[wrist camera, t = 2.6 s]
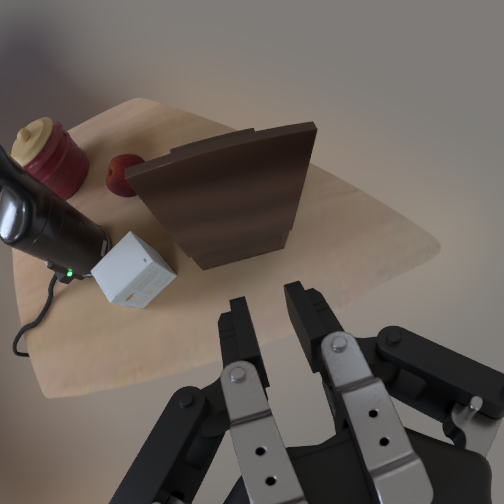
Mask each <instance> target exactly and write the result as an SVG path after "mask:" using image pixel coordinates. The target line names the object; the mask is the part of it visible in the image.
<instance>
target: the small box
mask: <svg viewBox="0 0 504 504" xmlns="http://www.w3.org/2000/svg"><path fill="white" fill-rule="evenodd" d="M91 273H92V274H93V276H94V278H95V279H96V281H97V283H98V284H99V286H100V287H101V289H102V291H103V292H104V294H105V295H106V297H107V298H108V300H109V301H110V303H113V304H118V305H123V306H129V307H134V308H140V309H143V308H144V307H145V306H146V305H147V304H148V303H149V302H150V301H152V300H153V299H154V298H155V297H156V296H157V295H158V294H159V293H160V292H161V291H162V290H163V289H164V288H165V287H166V286H167V285H168V284H169V283H170V282H171V281H172V280H174V279H175V278H176V277H177V274H176V273H175V272H174V271H173V270H172V269H171V267H170V266H169V265H168V264H167V263H166V261H165V260H164V259H163V258H162V257H161V255H160V254H159V253H158V252H157V251H156V250H155V249H153V248H152V247H151V246H150V245H148V244H147V243H146V242H144V241H143V240H142V239H140V238H139V237H138V236H137V235H135V234H134V233H133V232H131V231H129V232H128V233H127V234H126V235H125V236H124V237H123V238H122V239H121V240H120V241H119V242H118V243H117V244H116V245H115V246H114V247H113V248H112V249H111V250H110V251H109V252H108V253H107V254H106V255H105V256H104V257H103V259H102V260H101V261H100V262H99V263H98V264H97V265H96V266H95V267H94V268H93V269H92V270H91Z"/></svg>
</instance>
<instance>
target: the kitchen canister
mask: <svg viewBox="0 0 504 504" xmlns="http://www.w3.org/2000/svg"><path fill="white" fill-rule="evenodd" d="M11 156H12V157H13V158H14V159H15V160H16V161H17V162H18V163H19V164H20V165H21V166H22V167H23V168H24V169H26V170H27V171H28V172H29V173H30V174H32V175H33V176H34V177H35V178H37V179H38V180H39V181H41V182H42V183H43V184H44V185H46V186H47V187H48V188H49V189H51V190H52V191H53V192H55V193H56V194H57V195H58V196H60V197H61V198H62V199H63V200H66V199H68V198H69V197H70V196H72V195H73V194H74V193H75V192H76V191H77V190H78V188H79V187H80V186H81V184H82V183H83V181H84V179H85V177H86V174H87V171H88V159H87V157H86V154H85V152H84V151H83V150H82V149H81V148H80V147H78V145H77V144H76V143H75V142H74V141H73V140H72V138H71V137H70V135H69V133H68V132H66V131H64V130H62V125H61V124H60V123H59V122H58V121H52V120H51V119H50V118H48V117H44V118H41V119H39V120H36V121H34V122H32V123H30V124H29V125H28V126H27V127H26V128H22V129H21V130H20V131H19V132H18V135H17V139H16V141H15V143H14V145H13V148H12V153H11Z"/></svg>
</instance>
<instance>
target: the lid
mask: <svg viewBox="0 0 504 504" xmlns="http://www.w3.org/2000/svg"><path fill="white" fill-rule="evenodd" d="M316 133H317V128H316V126H315V124H314V122H306V123H300V124H293V125H287V126H282V127H276V128H271V129H266V130H261V131H256V132H251V133H246V134H242V135H237V136H233V137H229V138H225V139H221V140H217V141H213V142H209V143H205V144H202V145H198V146H195V147H191V148H188V149H184V150H181V151H177V152H174V153H171V154H168V155H165V156H162V157H158V158H155V159H152V160H149V161H147V162H144V163H141V164H138V165H135V166H132V167H130V168H127V169H125V179H126V180H127V182H128V183H129V184H130V186H131V187H132V188H133V190H134V191H135V192H136V193H137V195H138V196H139V197H140V198H141V200H142V201H143V202H144V204H145V205H146V206H147V207H148V209H149V210H150V211H151V212H152V214H153V215H154V216H155V217H156V219H157V220H158V221H159V222H160V223H161V225H162V226H163V227H164V228H165V230H166V231H167V232H168V233H169V234H170V236H171V237H172V238H173V239H174V240H175V242H176V243H177V244H178V245H179V246H180V248H181V249H182V250H183V251H184V252H185V253H186V255H187V256H188V257H193V256H196V255H200V254H203V253H207V252H211V251H214V250H218V249H222V248H225V247H229V246H233V245H236V244H240V243H244V242H247V241H251V240H255V239H259V238H262V237H266V236H270V235H274V234H277V233H281V232H285V231H289V230H292V227H293V223H294V219H295V216H296V212H297V208H298V204H299V201H300V197H301V193H302V189H303V185H304V182H305V178H306V174H307V170H308V166H309V162H310V158H311V154H312V149H313V146H314V141H315V137H316Z"/></svg>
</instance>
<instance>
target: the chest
mask: <svg viewBox="0 0 504 504" xmlns="http://www.w3.org/2000/svg"><path fill="white" fill-rule="evenodd" d="M251 132H255V130H254V128H250V129H245V130H241V131H236V132H232V133H228V134H224V135H220V136H216V137H212V138H208V139H204V140H200V141H197V142H193V143H190V144H186V145H183V146H180V147H176V148H173V149H170V153H174V152H177V151H181V150H184V149H188V148H191V147H195V146H198V145H202V144H205V143H209V142H213V141H217V140H221V139H225V138H229V137H233V136H237V135H242V134H246V133H251ZM288 233H289V231H285V232H281V233H277V234H274V235H270V236H266V237H262V238H259V239H255V240H251V241H247V242H244V243H240V244H236V245H233V246H229V247H225V248H222V249H218V250H214V251H211V252H207V253H203V254H200V255H196V256H193V257H191V258H192V259H193V260H194V261H195V262H196V263H197V264H198V265H199V267H200V268H201V269H202V270H207V269H210V268H214V267H218V266H221V265H225V264H229V263H232V262H236V261H240V260H243V259H247V258H251V257H254V256H258V255H262V254H265V253H269V252H273V251H276V250H280V249H284V246H285V243H286V240H287V237H288Z"/></svg>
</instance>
